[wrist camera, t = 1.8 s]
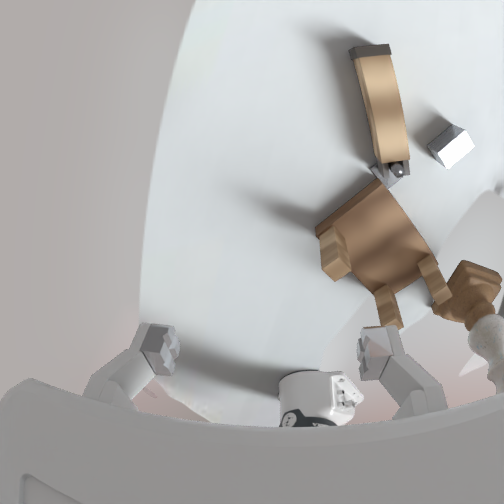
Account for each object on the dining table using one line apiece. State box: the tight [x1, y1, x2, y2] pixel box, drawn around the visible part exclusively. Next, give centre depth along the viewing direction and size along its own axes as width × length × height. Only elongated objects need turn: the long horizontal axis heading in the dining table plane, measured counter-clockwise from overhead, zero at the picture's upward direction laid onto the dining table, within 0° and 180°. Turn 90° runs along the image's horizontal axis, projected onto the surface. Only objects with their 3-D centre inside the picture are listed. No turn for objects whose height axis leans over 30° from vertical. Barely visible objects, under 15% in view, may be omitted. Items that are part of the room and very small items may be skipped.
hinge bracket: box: [370, 161, 405, 189], centre depth 31 cm, size 4×3×5 cm
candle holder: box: [431, 260, 504, 395], centre depth 32 cm, size 11×11×24 cm
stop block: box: [427, 124, 474, 169], centre depth 28 cm, size 2×5×4 cm, turn 138°
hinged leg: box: [349, 44, 410, 179], centre depth 27 cm, size 15×4×4 cm, turn 18°
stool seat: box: [315, 178, 452, 330], centre depth 35 cm, size 16×11×9 cm
